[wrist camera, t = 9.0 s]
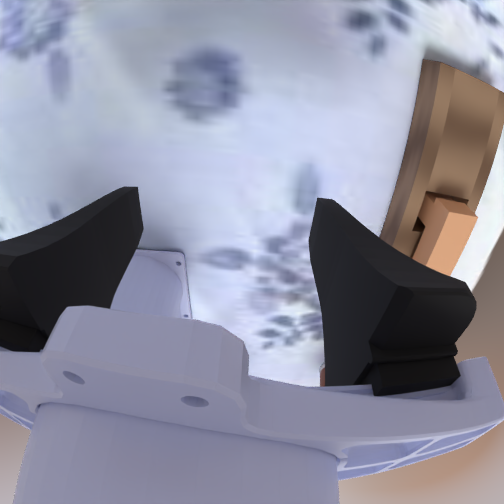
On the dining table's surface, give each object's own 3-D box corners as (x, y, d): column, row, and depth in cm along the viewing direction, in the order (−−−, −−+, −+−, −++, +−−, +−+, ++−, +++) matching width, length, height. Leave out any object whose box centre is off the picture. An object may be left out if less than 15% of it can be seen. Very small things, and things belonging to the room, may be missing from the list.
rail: (395, 330, 32) (401, 347, 30) (342, 331, 32) (346, 349, 30) (490, 88, 15) (509, 96, 13) (422, 59, 15) (440, 62, 13)
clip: (413, 268, 26) (432, 306, 22) (387, 267, 26) (404, 306, 22) (447, 185, 21) (478, 217, 17) (419, 179, 21) (449, 212, 17)
